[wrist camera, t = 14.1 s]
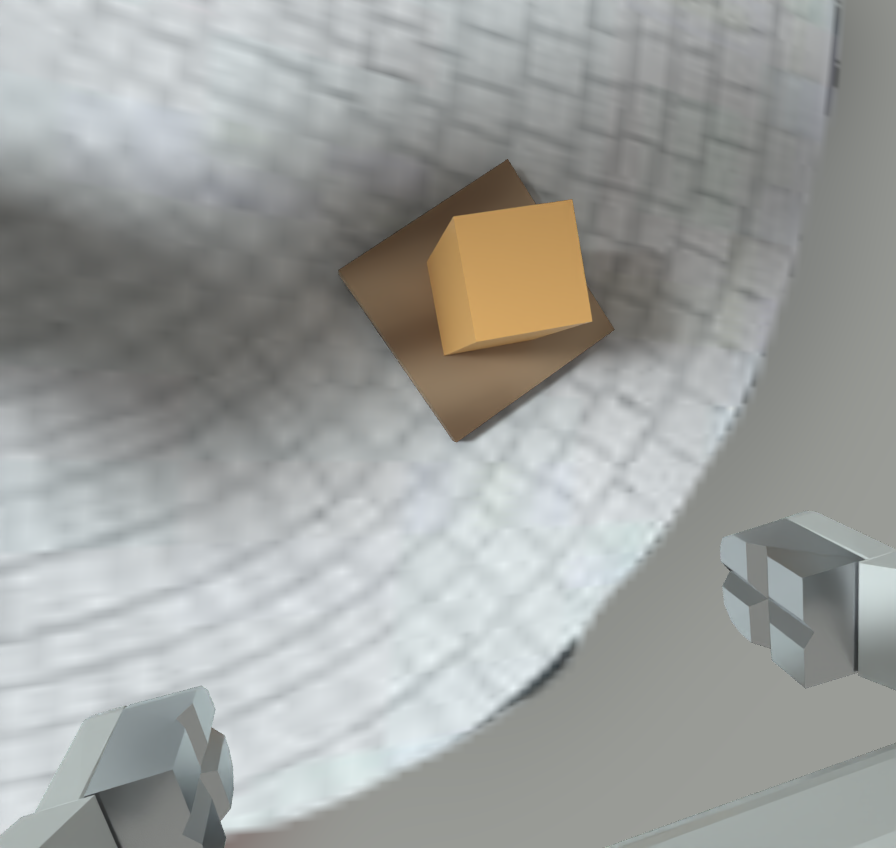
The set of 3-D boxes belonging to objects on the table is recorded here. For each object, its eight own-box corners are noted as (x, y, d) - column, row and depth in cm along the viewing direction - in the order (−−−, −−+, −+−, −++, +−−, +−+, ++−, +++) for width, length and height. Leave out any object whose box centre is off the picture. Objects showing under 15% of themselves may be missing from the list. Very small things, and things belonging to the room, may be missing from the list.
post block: (338, 274, 36) (336, 249, 29) (502, 166, 37) (533, 121, 31) (453, 440, 37) (473, 449, 31) (606, 331, 38) (655, 319, 32)
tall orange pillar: (443, 355, 36) (475, 342, 27) (426, 261, 35) (453, 216, 26) (532, 339, 36) (592, 321, 28) (516, 248, 36) (572, 199, 27)
